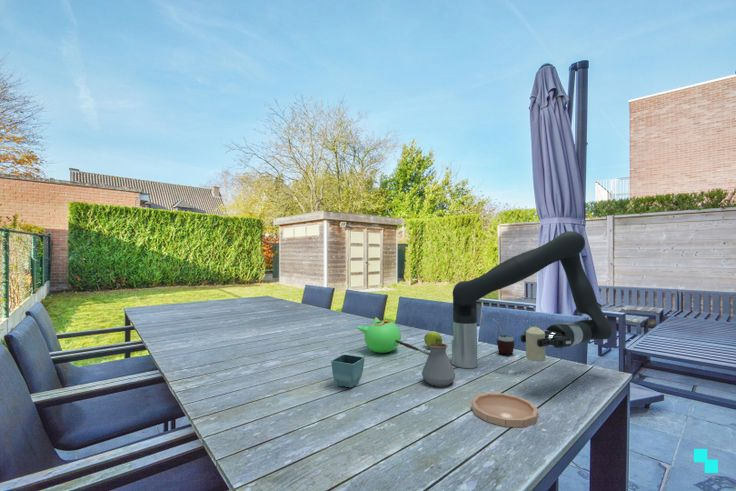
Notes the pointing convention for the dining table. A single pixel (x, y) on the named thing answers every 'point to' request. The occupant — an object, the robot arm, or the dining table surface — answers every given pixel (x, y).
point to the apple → (432, 338)
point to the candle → (534, 344)
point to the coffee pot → (435, 364)
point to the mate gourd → (505, 344)
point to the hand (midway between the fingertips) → (530, 340)
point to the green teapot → (381, 336)
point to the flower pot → (347, 369)
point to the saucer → (504, 410)
